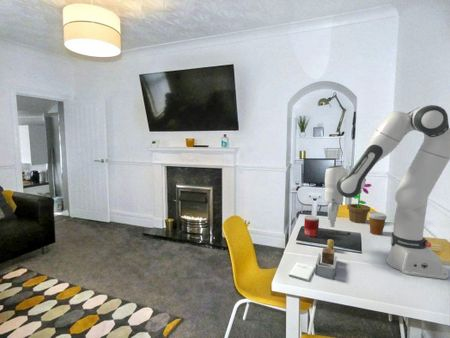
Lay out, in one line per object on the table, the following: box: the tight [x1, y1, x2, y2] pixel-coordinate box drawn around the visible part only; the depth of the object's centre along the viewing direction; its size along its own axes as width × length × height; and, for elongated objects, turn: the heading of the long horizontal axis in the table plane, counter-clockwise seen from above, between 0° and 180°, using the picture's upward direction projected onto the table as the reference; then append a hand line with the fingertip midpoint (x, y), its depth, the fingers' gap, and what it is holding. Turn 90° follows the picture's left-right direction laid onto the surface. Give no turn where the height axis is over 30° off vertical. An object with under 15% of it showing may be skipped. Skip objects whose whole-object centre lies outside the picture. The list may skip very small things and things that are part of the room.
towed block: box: [321, 238, 336, 265], centre depth 129 cm, size 5×18×5 cm, turn 154°
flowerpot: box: [346, 177, 372, 224], centre depth 179 cm, size 14×14×30 cm
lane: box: [314, 253, 338, 280], centre depth 115 cm, size 8×12×4 cm, turn 154°
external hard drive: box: [288, 261, 316, 282], centre depth 114 cm, size 2×8×12 cm
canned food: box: [303, 214, 320, 238], centre depth 155 cm, size 8×8×11 cm
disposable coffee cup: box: [368, 211, 388, 236], centre depth 158 cm, size 10×10×12 cm
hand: (333, 223), depth 134 cm, fingers open, 8 cm apart
